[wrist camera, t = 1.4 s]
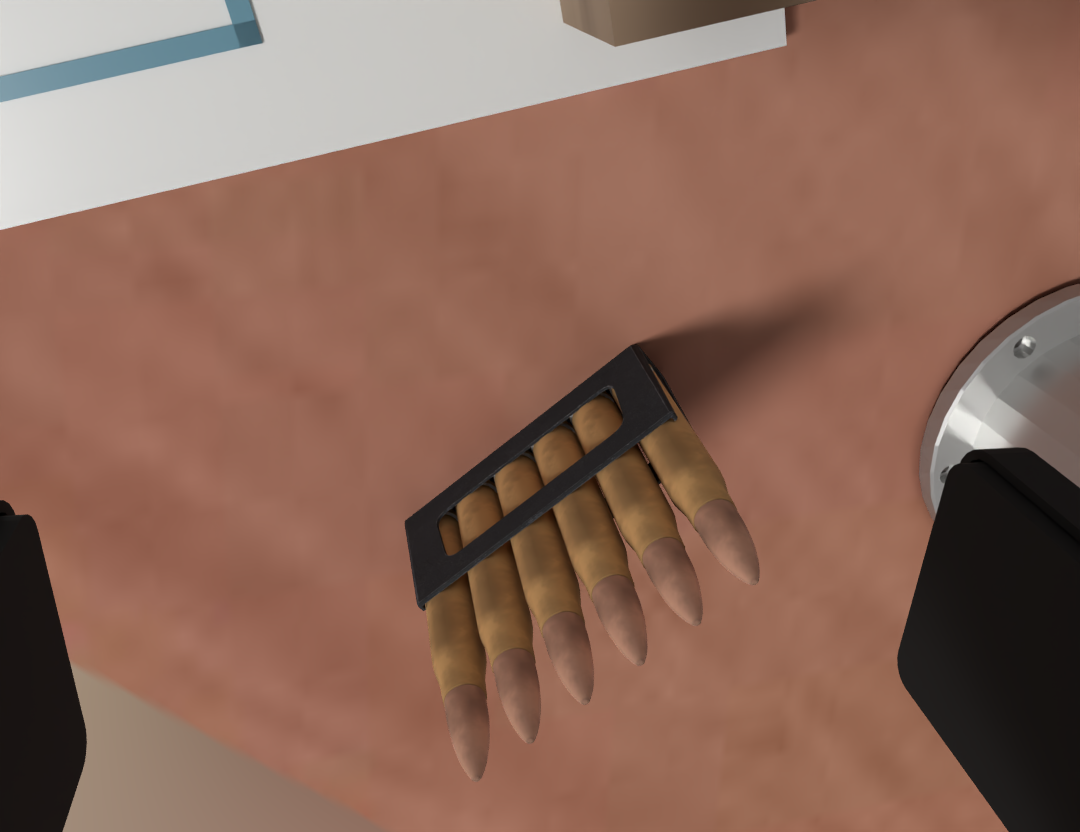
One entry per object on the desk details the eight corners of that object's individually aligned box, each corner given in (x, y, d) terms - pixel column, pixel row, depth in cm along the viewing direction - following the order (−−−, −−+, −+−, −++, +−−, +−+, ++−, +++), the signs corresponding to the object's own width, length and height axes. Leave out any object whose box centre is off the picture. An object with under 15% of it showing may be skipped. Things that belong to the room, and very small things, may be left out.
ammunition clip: (635, 341, 33) (768, 537, 22) (664, 377, 34) (805, 581, 23) (402, 522, 34) (424, 783, 24) (436, 552, 35) (471, 816, 25)
